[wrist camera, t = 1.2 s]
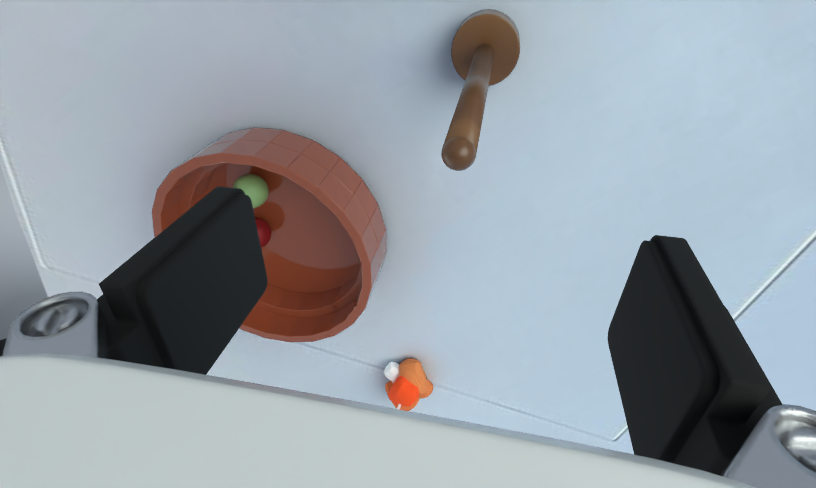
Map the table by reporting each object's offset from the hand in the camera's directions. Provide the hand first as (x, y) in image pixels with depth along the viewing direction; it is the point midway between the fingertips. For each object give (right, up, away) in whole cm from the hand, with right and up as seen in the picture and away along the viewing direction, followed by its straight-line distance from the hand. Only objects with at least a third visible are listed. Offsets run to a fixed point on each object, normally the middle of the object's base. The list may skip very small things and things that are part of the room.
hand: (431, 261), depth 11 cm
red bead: (-15, +1, +31) cm, 34 cm away
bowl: (-12, +2, +32) cm, 34 cm away
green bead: (-14, +5, +28) cm, 32 cm away
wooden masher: (+5, +14, +20) cm, 25 cm away
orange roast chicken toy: (-1, -15, +42) cm, 45 cm away
